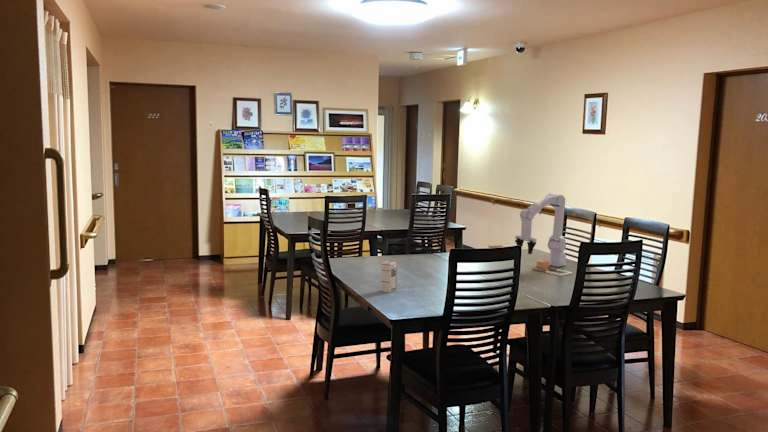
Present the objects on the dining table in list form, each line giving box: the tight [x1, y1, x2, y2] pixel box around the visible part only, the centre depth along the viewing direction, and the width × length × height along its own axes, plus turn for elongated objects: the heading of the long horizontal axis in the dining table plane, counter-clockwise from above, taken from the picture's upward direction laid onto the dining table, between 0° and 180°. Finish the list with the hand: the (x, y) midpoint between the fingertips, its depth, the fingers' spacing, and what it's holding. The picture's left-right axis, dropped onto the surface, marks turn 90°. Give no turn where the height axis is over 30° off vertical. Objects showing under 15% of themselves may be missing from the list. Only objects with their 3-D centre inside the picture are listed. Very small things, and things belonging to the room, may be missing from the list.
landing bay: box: [545, 268, 574, 277], centre depth 362 cm, size 11×10×1 cm
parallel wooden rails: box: [532, 265, 558, 273], centre depth 370 cm, size 8×11×2 cm
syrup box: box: [380, 260, 398, 293], centre depth 308 cm, size 6×6×14 cm
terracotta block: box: [536, 259, 550, 269], centre depth 371 cm, size 5×5×5 cm
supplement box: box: [487, 243, 504, 249], centre depth 376 cm, size 8×5×13 cm, turn 84°
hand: (524, 252), depth 368 cm, fingers open, 7 cm apart
